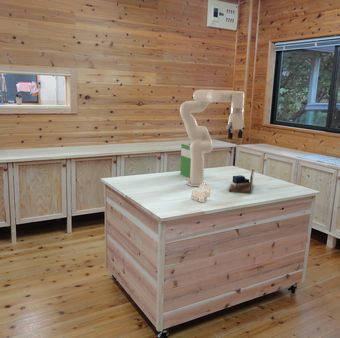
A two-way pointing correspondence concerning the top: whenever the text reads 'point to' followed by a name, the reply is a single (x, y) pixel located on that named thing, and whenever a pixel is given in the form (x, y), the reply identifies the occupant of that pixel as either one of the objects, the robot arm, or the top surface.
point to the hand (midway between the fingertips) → (235, 138)
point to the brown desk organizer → (243, 186)
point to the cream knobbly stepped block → (199, 195)
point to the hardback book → (185, 160)
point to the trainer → (240, 180)
